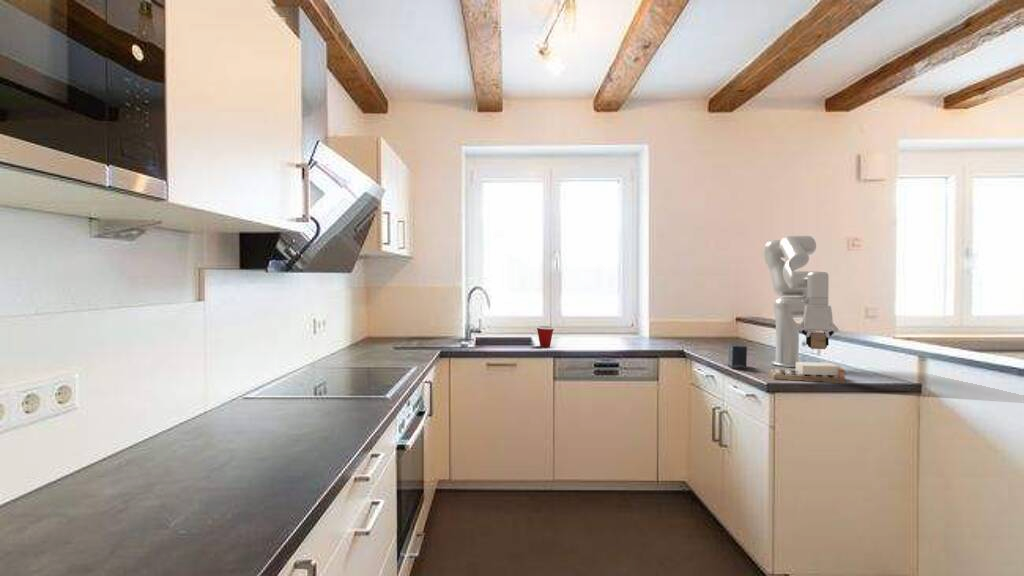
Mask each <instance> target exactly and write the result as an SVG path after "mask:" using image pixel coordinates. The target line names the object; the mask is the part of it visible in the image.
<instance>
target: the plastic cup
mask: <svg viewBox="0 0 1024 576" xmlns="http://www.w3.org/2000/svg"><path fill="white" fill-rule="evenodd" d="M535 327H536V329H537V335H538V341H539V346H540V348H550V347H551V344H552V343H551V342H552V339H553V333H554V330H555V326H552V325H542V324H541V325H536V326H535Z"/></svg>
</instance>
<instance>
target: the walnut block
mask: <svg viewBox="0 0 1024 576" xmlns="http://www.w3.org/2000/svg"><path fill="white" fill-rule="evenodd" d="M810 337H811V347H809V349H813V350H826V334H824V332H811V334H810Z"/></svg>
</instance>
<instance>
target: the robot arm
mask: <svg viewBox="0 0 1024 576" xmlns="http://www.w3.org/2000/svg"><path fill="white" fill-rule="evenodd" d="M816 249H817V242H816V240H815V239H814V238H813V236H811V235H788V236H785V237H783V238H782V239H777V240H776V239H775V240H770V241H767V242H766V243H765V245H764V247H763V257H764V260H765V263H766V265H767V267H768V269H769V272H770V274H771V281H772V286H773V290H774V293H775V294H776V296H779V298H777V299H775V301H774V303H773V311H774V317H775V318H774V319H775V359H774V360H772V361H771V365H774V366H777V367H787V368H796V362H800V361H799V359H800V358H799V354H800V350H799V349H800V348H799V347H800V346H799V345H800V332H801V333H802V334H803V335H804V336H805V345H807V347H808V348H810V347H811V337H810V334H811V333H812V332H813V331H823V332H822V333H824V334H826V348H828V346H829V340H830V339H829V338H830V337H831V336H833V334H834V333H836V332H838V331H839V328H838V326H836V325H835V323H834V320H833V310H832V306H831V305H829V282H830V281H829V279H830V278H829V277H830V276H829V274H828V272H826V271H815V270H814V271H810V270H809V271H808V270H807V271H805V270H804V271H800V270H799V269H801V268H803V267H805V266H806V265H808V263H809V260H810V255H812V254H814V252H815V251H816ZM782 258H785V260H786V261H784V260H783V259H782ZM797 270H799V271H797ZM796 318H797V319H800V318H801V319H802V321H801V322H800V323H799V325H798V323H797V322H796V321H795V320H794V319H796ZM804 329H805V330H804Z"/></svg>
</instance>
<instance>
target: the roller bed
mask: <svg viewBox="0 0 1024 576" xmlns="http://www.w3.org/2000/svg"><path fill="white" fill-rule="evenodd" d="M835 365H836V364H835ZM836 366H838V367H839V372H838V375H810V374H801V373H799V372H798V371H796V369H795V370H792V369H787V368H786V369H779V368H774V369H773V368H771V369H769V370H770V371H769V374H770V373H771V374H770V375H771V377H772V379H773V378H774V379H773V380H782V379H788V380H787V381H798V380H805V381H804V382H814V381H823V382H822V383H831V382H834V383H835V384H846V378H845V376H846V375H845V373H846V371H845V369H844V368H842V367H841V366H840V365H836ZM784 374H786V375H784ZM805 375H807V376H805Z"/></svg>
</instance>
